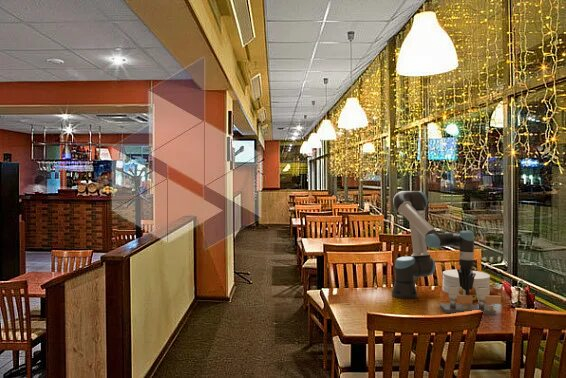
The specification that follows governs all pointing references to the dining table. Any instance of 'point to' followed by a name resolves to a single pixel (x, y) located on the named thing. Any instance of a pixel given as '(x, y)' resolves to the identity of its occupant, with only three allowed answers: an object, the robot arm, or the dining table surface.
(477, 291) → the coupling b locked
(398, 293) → the robot arm
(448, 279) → the plate stack
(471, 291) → the cheeseburger
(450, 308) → the lock plate
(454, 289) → the coupling
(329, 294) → the dining table surface
